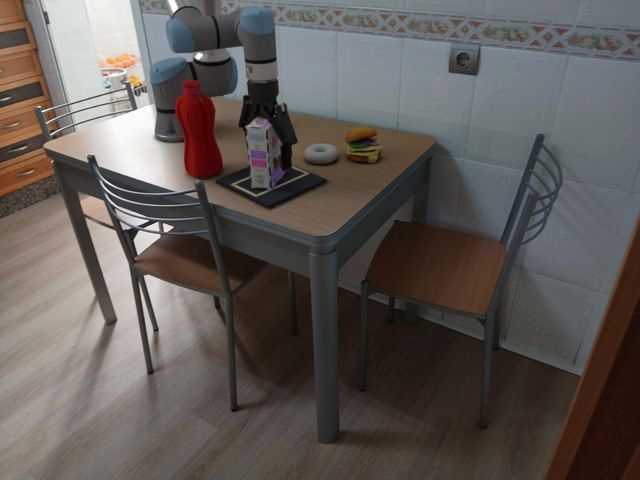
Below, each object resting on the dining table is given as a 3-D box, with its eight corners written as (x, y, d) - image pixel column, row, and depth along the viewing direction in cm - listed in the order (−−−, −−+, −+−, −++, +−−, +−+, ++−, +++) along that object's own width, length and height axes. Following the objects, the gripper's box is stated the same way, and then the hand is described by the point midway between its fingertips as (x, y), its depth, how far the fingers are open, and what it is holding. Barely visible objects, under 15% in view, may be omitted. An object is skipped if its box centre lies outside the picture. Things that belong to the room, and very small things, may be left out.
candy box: (272, 191, 131) (266, 128, 122) (250, 188, 133) (243, 126, 124) (290, 169, 142) (286, 110, 134) (269, 167, 144) (264, 108, 135)
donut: (297, 162, 149) (327, 168, 144) (296, 151, 147) (326, 156, 143) (316, 150, 156) (345, 156, 152) (315, 139, 155) (344, 144, 150)
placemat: (215, 182, 139) (215, 179, 138) (272, 160, 151) (272, 156, 150) (269, 209, 125) (268, 205, 125) (327, 182, 137) (327, 178, 137)
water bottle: (205, 184, 138) (190, 89, 125) (181, 173, 145) (164, 82, 131) (232, 173, 144) (220, 81, 131) (208, 162, 150) (195, 74, 137)
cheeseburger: (359, 167, 144) (354, 131, 141) (340, 163, 153) (336, 129, 150) (389, 159, 148) (385, 124, 145) (369, 155, 157) (365, 122, 154)
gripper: (218, 73, 129) (228, 153, 140) (285, 92, 114) (291, 180, 125) (242, 67, 134) (250, 145, 145) (310, 84, 118) (313, 170, 130)
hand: (269, 162), depth 135 cm, fingers open, 13 cm apart
